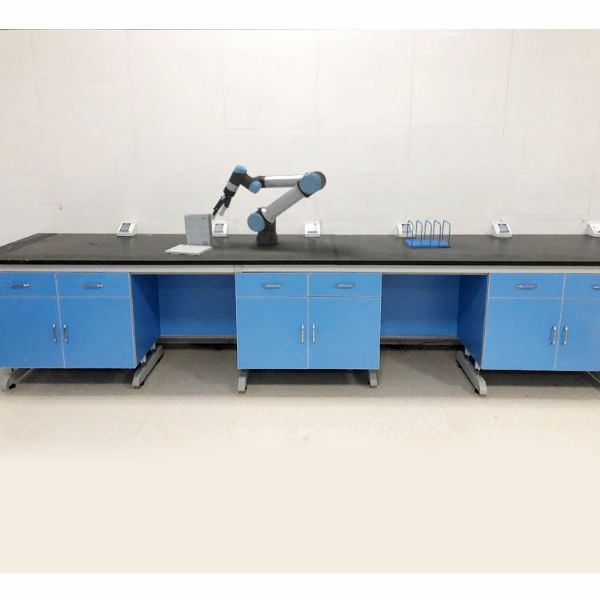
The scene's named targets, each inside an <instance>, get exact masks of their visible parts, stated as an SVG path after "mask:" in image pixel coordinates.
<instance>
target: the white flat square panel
mask: <svg viewBox="0 0 600 600" xmlns="http://www.w3.org/2000/svg"><path fill="white" fill-rule="evenodd" d="M211 250H213V245H212V246H196V245H187V244H178V245H176V246H173V247H171V248H168V249H167V250H164V254H165V253H171V254H170V255H179V254H188V255H187V256H194V255H199V256H200V254H201V255H202V253H203V254H205V253H207V252H209V251H211ZM206 251H207V252H206ZM204 252H205V253H204Z"/></svg>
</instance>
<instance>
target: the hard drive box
mask: <svg viewBox="0 0 600 600" xmlns="http://www.w3.org/2000/svg"><path fill="white" fill-rule="evenodd" d="M211 215H212V213H187V214H185V215H184V218H183V219H184V226H185V238H186V245H196V246H212V247H213V245H214V239H213V235H214V234H213V226H212V225H213V224H212V219H210V217H211Z"/></svg>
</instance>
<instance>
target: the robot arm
mask: <svg viewBox="0 0 600 600" xmlns="http://www.w3.org/2000/svg"><path fill="white" fill-rule="evenodd" d="M226 182H227V183H226V184H225V186H224V188H223V191H222V192H223V194H224V195H221V197H220V199H219V200H218V201H217V203H216V204H215V206H214V207H213V211H212V213H211V217H210V219H211V221H215V219H216V217H217V215H219V216H220V217H223V216H224V215H225V213H226V211H227V210H228V209H229V208H230V204H231V202H232V199H233V198H234V197H235V196H236V194H237V192H238V190H239V187H240V186H242V187H244V188H245V189H247V190H248V191H249V192H251V193H252V194H255V195H256V194H258V193H259V192H260V190H261V189H278V188H279V189H282V188H283V189H284V188H285V189H286V188H290V189H289V190H287V192H285V193H283V194H282V195H281V196H279V197H278V198H277V199H276V200H274V201H273V202H271V203H270V204H269V205H267V206H261V207H258V208H257V209H256V211H255V212H253V213H252V212H251V213H250V215H249V216H248V217H247V220H246V224H247V226H248V228H249V229H250V230H251V231H252V232H255V233H257V234H256V237H255V245H259V246H274V245H275V244H276V245H279V244H280V239H279V235H278V233H277V218H278V217H279V216H280V215H282V214H283V213H285V212H286V211H287V210H288V209H290V208H292V207H293V206H294V205H296V204H297V203H298V202H300V201H301V200H303V199H304V198H306V199H309V198H310V197H311V196H312V195H315V194H316V193H317V192H319V191H321V190H323V189H324V188H325V187H326V184H327V177H326V175H325V174H324V173H323V172H321V171H318V170H314V171H311V172H305V173H304V174H285V175H284V174H283V175H257V176H253V177H252V176H251V175H249V174H248V168H246V167H245V166H243V165H240V164H237V165H235V167H234V169H233V170H232V173H231V175H230V177H229V179H228V180H226Z"/></svg>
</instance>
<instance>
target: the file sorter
mask: <svg viewBox="0 0 600 600" xmlns="http://www.w3.org/2000/svg"><path fill="white" fill-rule="evenodd" d="M424 222H425V223H424V231H423V223H422V222H421V221H420V220H418V219H417V220H416V222H415V223H416V224H415V238H414V223H413V221H411V220H409V219H408V221H407V225H406V239H405V240H404V243H405V244H406V245H407V246H408V247H409V248H410V249H422V248H423V249H438V248H437V247H450V248H451V244H450V237H451V223H450V222H448V221H447V220H445V219H444V220H443V221H442V224H441V222H439V221H438V220H434V221H433V225H432V223H431V222H430V221H428V220H427V219H426V220H425V221H424ZM409 223H410V224H411V225H412V231H411V239H409V238H408V236H409V235H408V234H409ZM418 223H419V224H420V225H421V228H420V229H421V232H420V239H417V231H418V229H417V228H418ZM427 223H429V225H430V235H429V236H430V237H429V239H426V231H427V230H426V227H427ZM436 223H437V224H439V237H438V239H434V238H435V225H436ZM445 223H447V224H448V226H449V228H448V230H449V231H448V237H447V238H448V241H445V240H444V227H445V226H444V225H445ZM432 227H433V228H432ZM432 230H433V231H432ZM423 232H424V235H423Z"/></svg>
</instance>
